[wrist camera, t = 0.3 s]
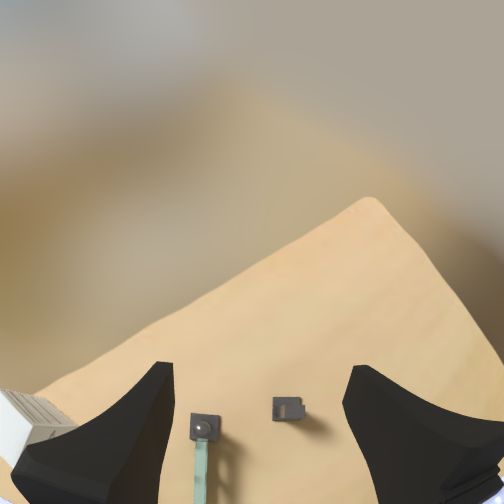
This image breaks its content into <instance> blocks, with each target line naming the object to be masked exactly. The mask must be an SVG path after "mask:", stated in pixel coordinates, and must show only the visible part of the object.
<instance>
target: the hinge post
mask: <svg viewBox="0 0 504 504" xmlns="http://www.w3.org/2000/svg"><path fill="white" fill-rule="evenodd" d="M218 426H219V415H207V414H196V413H191V421H190V439H195V440H197V439H198V438H203V439H208V441H218Z"/></svg>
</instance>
